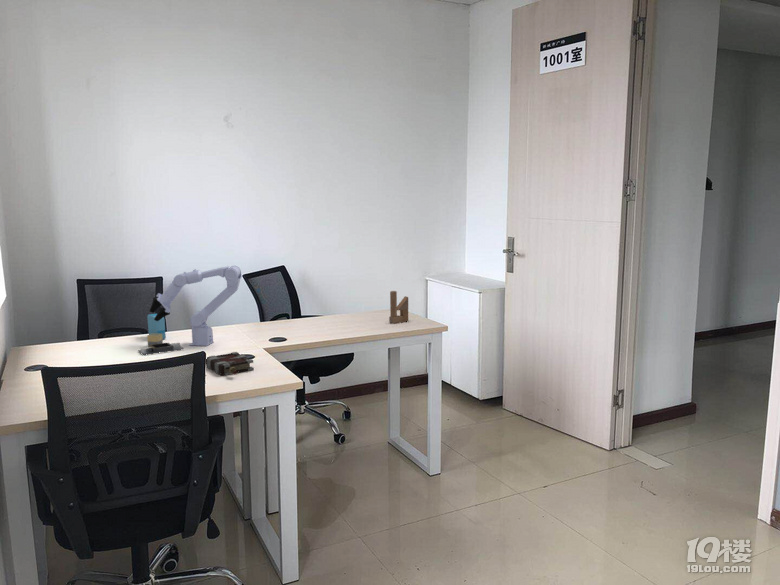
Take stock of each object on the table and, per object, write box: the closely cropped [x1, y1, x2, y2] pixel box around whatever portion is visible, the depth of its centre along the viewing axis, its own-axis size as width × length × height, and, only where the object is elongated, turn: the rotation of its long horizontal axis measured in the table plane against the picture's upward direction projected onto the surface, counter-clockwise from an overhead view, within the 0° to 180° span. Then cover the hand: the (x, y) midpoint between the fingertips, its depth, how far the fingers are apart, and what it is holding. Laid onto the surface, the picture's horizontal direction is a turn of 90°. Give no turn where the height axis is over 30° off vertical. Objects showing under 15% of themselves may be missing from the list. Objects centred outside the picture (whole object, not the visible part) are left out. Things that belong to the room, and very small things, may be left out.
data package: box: [146, 313, 167, 340], centre depth 328 cm, size 12×4×12 cm, turn 40°
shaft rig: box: [137, 342, 184, 356], centre depth 304 cm, size 18×10×2 cm, turn 125°
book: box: [205, 351, 255, 376], centre depth 269 cm, size 15×25×5 cm, turn 36°
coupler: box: [146, 333, 164, 347], centre depth 312 cm, size 5×5×6 cm
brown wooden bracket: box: [388, 290, 409, 324], centre depth 360 cm, size 4×11×18 cm, turn 121°
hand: (153, 316), depth 313 cm, fingers open, 7 cm apart
